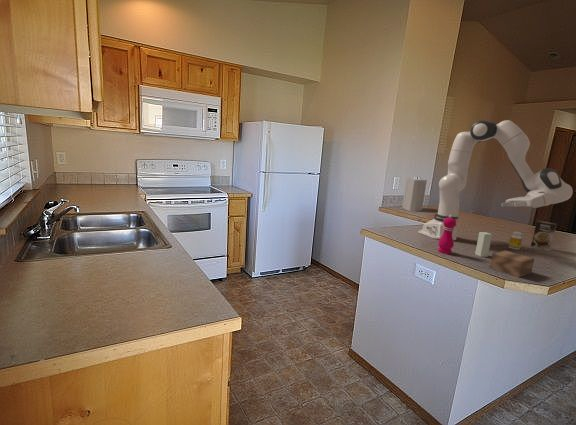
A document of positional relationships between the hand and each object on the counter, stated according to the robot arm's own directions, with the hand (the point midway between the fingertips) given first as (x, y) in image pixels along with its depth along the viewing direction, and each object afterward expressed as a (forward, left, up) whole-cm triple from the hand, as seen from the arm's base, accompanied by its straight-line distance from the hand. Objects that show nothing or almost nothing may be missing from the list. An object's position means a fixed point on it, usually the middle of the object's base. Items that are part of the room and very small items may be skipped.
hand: (507, 205), depth 163 cm
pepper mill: (-14, -25, -27) cm, 40 cm away
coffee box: (+4, +42, -27) cm, 50 cm away
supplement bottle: (-3, +26, -27) cm, 38 cm away
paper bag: (-106, +72, -27) cm, 131 cm away
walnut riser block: (+15, -20, -27) cm, 37 cm away
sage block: (-3, -10, -27) cm, 29 cm away
